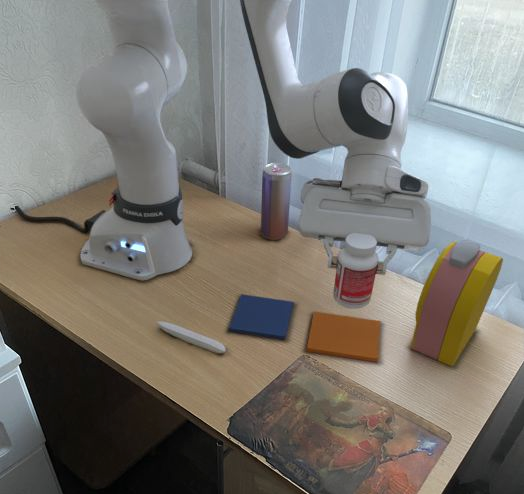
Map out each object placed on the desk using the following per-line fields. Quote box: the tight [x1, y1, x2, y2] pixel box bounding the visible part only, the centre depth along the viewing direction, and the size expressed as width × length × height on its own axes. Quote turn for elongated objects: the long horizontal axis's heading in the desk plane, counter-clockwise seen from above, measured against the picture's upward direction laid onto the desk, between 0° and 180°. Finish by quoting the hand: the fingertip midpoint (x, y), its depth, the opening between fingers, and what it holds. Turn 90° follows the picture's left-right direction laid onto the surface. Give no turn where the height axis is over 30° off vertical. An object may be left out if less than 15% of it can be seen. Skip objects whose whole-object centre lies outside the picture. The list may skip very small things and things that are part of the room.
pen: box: [155, 321, 227, 354], centre depth 91 cm, size 2×14×2 cm, turn 63°
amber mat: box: [305, 311, 381, 363], centre depth 93 cm, size 12×10×1 cm
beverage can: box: [260, 162, 293, 241], centre depth 113 cm, size 6×6×15 cm
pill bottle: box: [332, 233, 379, 310], centre depth 84 cm, size 6×6×11 cm
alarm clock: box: [410, 239, 504, 367], centre depth 88 cm, size 15×8×18 cm, turn 145°
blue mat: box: [228, 294, 295, 341], centre depth 97 cm, size 10×10×1 cm
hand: (356, 271), depth 83 cm, fingers closed on pill bottle, 6 cm apart
